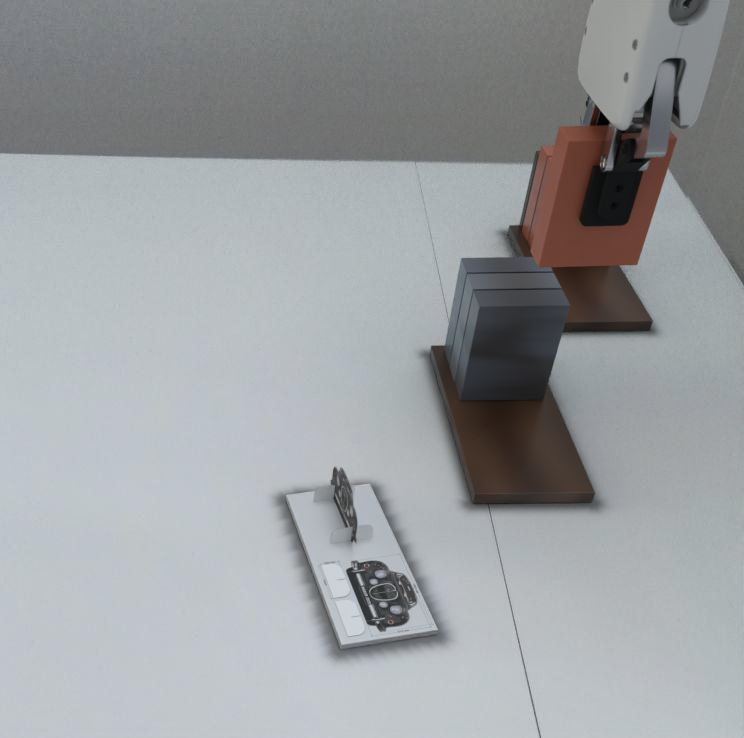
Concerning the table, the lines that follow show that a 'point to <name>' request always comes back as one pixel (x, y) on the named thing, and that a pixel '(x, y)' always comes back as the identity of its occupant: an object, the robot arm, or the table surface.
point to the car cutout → (359, 565)
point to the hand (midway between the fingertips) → (596, 210)
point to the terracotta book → (566, 196)
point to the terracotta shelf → (580, 271)
